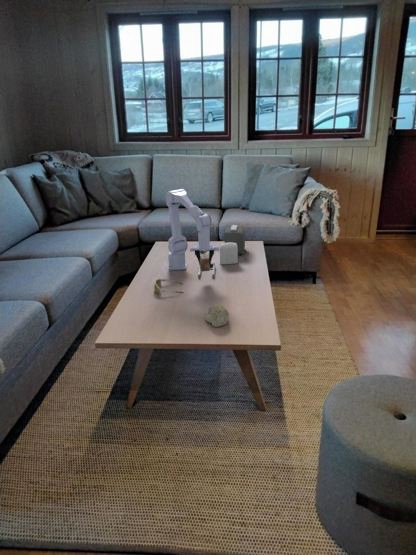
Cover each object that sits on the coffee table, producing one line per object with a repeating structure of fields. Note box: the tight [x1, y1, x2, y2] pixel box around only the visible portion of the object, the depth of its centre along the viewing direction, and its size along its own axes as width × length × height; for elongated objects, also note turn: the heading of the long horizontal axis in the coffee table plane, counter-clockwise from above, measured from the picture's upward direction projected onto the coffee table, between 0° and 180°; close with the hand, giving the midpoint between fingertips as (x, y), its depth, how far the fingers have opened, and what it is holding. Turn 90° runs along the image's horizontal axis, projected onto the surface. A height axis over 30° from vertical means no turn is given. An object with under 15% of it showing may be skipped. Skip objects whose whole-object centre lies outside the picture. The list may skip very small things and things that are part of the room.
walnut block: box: [199, 253, 211, 272], centre depth 211 cm, size 4×8×6 cm, turn 177°
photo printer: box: [219, 242, 239, 265], centre depth 235 cm, size 10×4×12 cm, turn 98°
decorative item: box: [204, 304, 230, 328], centre depth 175 cm, size 12×9×10 cm
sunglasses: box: [153, 278, 185, 296], centre depth 207 cm, size 14×15×5 cm
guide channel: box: [197, 262, 216, 279], centre depth 226 cm, size 8×16×2 cm, turn 177°
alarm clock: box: [223, 224, 246, 256], centre depth 253 cm, size 16×11×16 cm
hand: (205, 264), depth 212 cm, fingers closed on walnut block, 4 cm apart
